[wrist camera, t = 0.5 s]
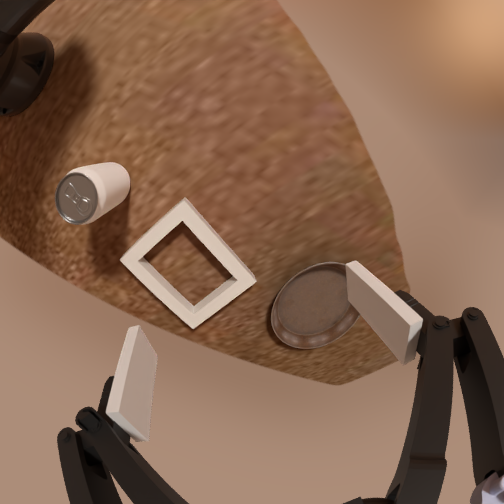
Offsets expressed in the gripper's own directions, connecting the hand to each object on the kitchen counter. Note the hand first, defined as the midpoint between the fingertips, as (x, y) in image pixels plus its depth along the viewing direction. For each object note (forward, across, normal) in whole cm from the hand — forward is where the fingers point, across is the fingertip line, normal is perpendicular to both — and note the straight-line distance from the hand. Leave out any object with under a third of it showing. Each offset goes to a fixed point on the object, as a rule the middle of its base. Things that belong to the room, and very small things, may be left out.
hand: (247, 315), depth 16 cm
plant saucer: (+25, +12, -20) cm, 34 cm away
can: (+26, -14, +9) cm, 31 cm away
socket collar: (+25, -7, -6) cm, 27 cm away
